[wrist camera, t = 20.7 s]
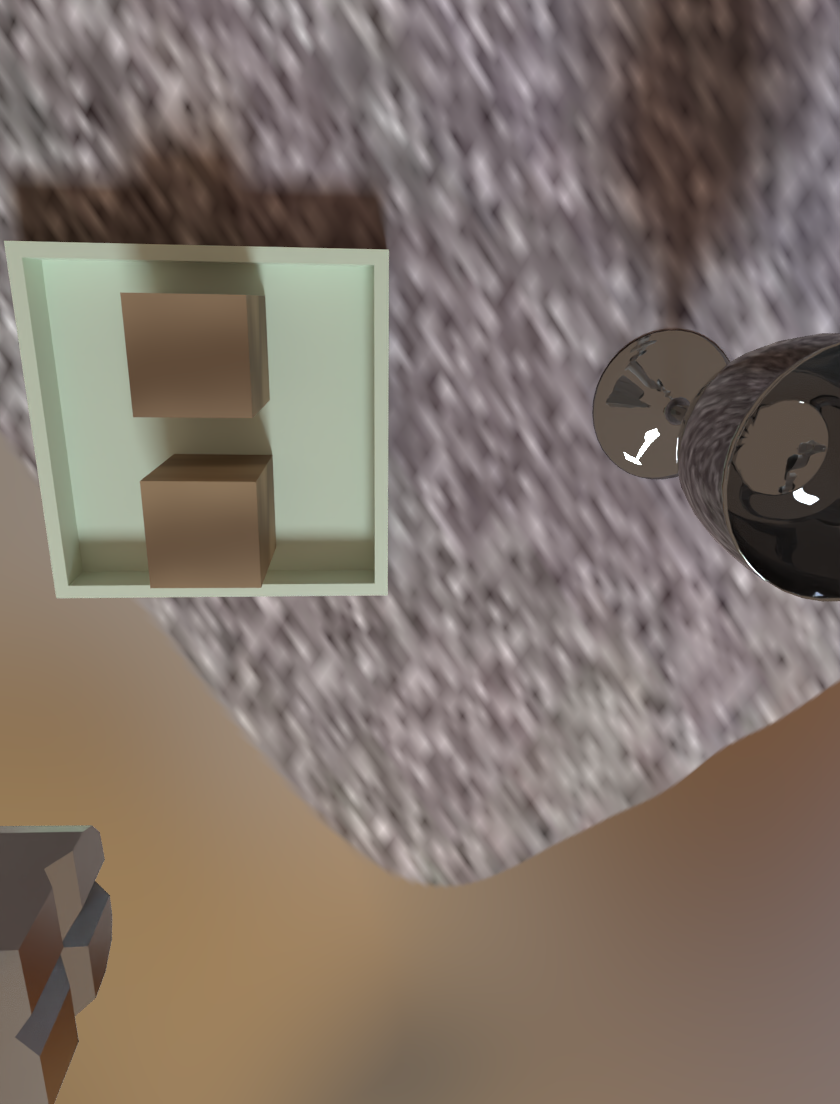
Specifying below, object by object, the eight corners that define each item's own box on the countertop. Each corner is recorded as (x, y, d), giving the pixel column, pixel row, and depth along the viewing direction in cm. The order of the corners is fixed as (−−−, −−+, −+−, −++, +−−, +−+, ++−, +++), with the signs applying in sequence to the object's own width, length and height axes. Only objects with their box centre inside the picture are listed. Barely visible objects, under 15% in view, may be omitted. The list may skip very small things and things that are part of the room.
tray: (30, 245, 32) (4, 240, 30) (387, 253, 33) (388, 249, 31) (76, 579, 37) (56, 598, 34) (386, 576, 38) (387, 595, 36)
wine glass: (550, 407, 36) (671, 477, 22) (679, 282, 34) (900, 270, 20) (653, 519, 38) (824, 650, 24) (778, 406, 36) (1040, 475, 22)
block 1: (159, 293, 32) (120, 292, 27) (265, 295, 33) (245, 294, 28) (169, 399, 34) (133, 417, 29) (269, 400, 34) (252, 418, 29)
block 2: (173, 453, 35) (139, 481, 29) (272, 454, 35) (256, 481, 30) (181, 546, 36) (150, 588, 31) (276, 546, 36) (261, 587, 31)
